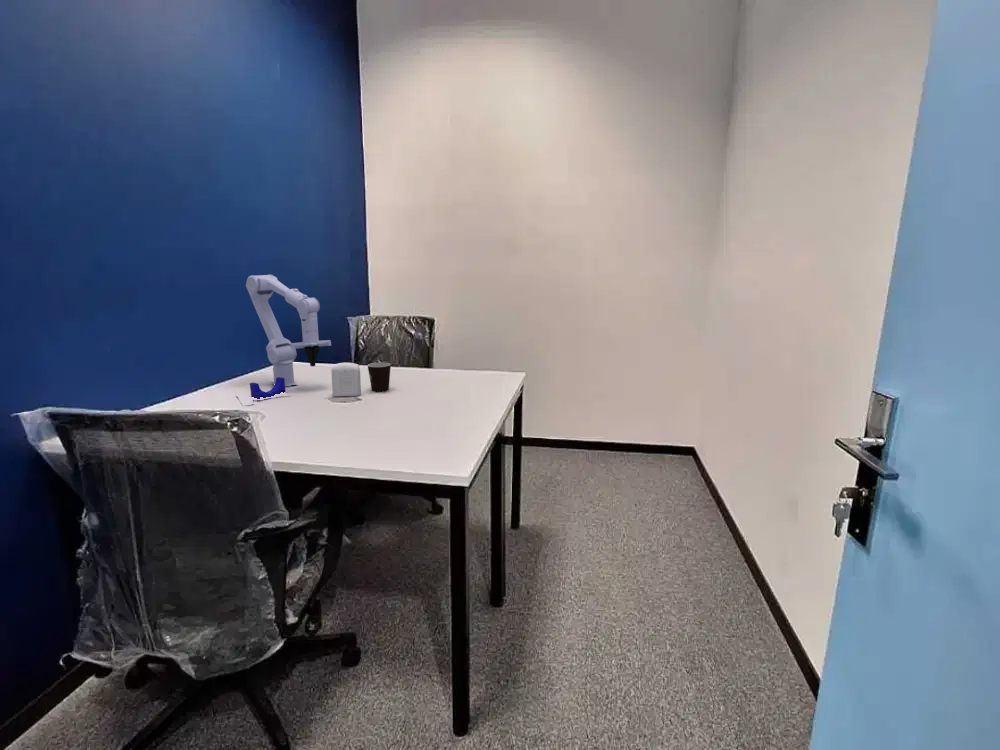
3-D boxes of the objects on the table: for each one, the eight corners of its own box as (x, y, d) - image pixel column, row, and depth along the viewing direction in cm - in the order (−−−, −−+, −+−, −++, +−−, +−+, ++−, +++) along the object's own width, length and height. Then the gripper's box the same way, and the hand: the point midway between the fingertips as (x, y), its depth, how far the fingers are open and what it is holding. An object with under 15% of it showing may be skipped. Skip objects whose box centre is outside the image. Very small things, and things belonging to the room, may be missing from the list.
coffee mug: (389, 393, 211) (388, 367, 209) (366, 393, 212) (365, 367, 209) (395, 385, 223) (394, 361, 221) (373, 385, 223) (372, 360, 221)
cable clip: (258, 401, 200) (257, 384, 199) (251, 399, 202) (249, 383, 201) (288, 394, 210) (286, 378, 208) (280, 392, 212) (279, 376, 211)
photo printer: (362, 393, 211) (360, 361, 208) (360, 396, 207) (358, 363, 204) (333, 394, 210) (331, 362, 207) (332, 397, 206) (329, 364, 203)
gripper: (292, 333, 204) (295, 369, 207) (332, 330, 212) (334, 365, 215) (288, 331, 210) (291, 366, 213) (327, 328, 218) (329, 362, 221)
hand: (312, 365), depth 214 cm, fingers closed
